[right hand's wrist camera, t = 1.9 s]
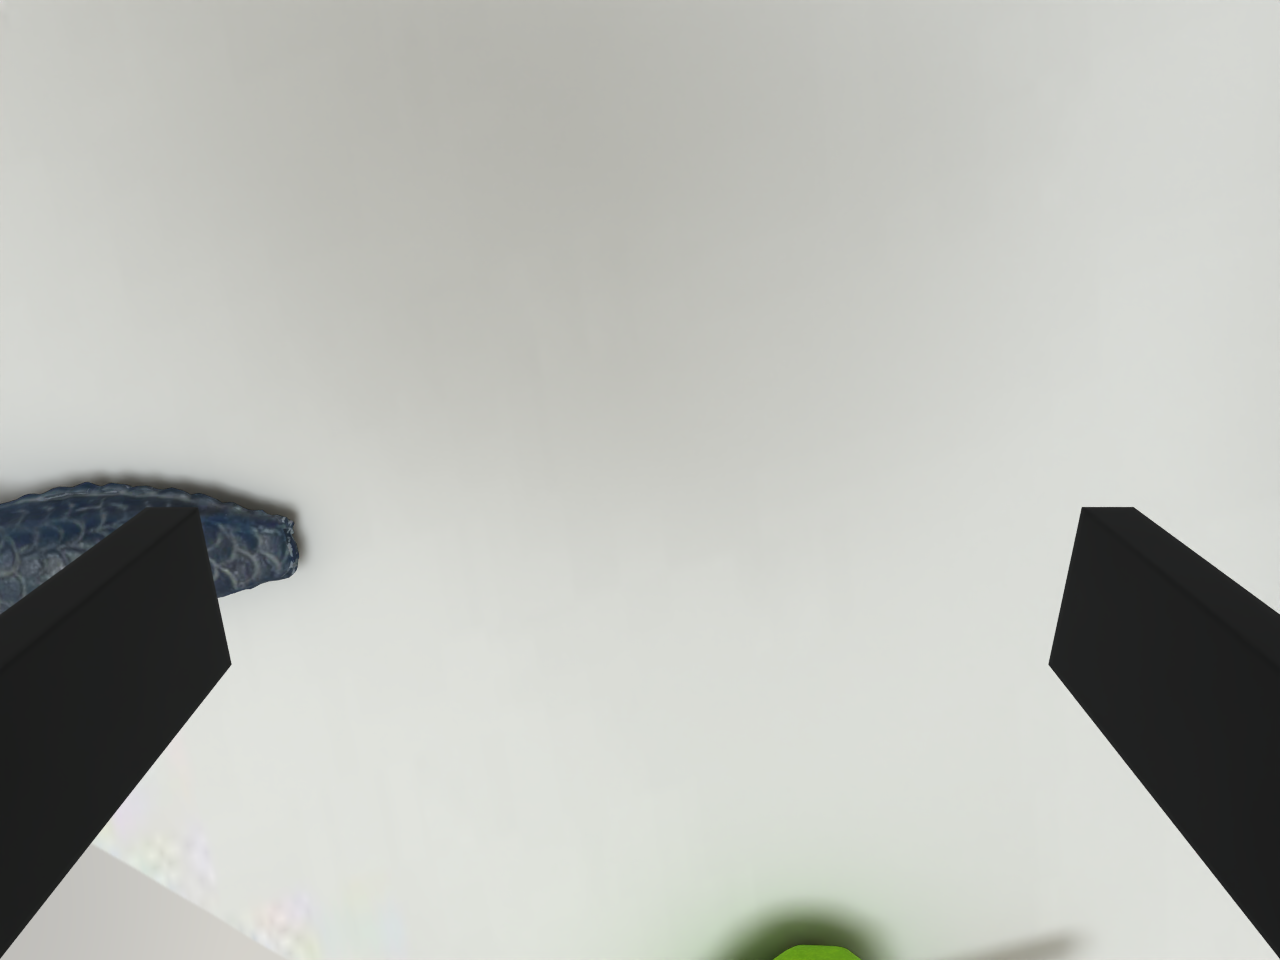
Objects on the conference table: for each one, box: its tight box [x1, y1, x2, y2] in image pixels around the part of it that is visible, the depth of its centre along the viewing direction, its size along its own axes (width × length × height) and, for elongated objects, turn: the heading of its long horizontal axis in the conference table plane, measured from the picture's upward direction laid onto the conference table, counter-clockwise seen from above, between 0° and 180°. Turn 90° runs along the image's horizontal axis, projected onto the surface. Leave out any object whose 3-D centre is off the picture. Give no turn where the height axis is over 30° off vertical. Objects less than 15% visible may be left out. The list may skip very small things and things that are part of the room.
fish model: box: [0, 482, 299, 614], centre depth 41 cm, size 7×21×5 cm, turn 92°
